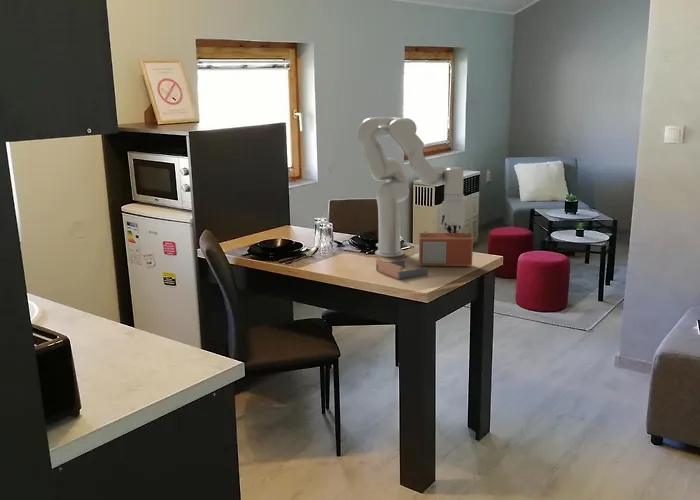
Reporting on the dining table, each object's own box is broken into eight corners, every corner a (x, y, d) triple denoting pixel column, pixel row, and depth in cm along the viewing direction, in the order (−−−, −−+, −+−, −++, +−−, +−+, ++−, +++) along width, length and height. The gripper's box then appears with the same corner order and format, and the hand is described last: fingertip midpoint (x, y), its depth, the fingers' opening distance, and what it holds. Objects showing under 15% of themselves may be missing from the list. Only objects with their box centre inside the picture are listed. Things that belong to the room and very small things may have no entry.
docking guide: (376, 271, 264) (376, 259, 263) (403, 266, 271) (403, 254, 270) (399, 279, 251) (399, 267, 250) (427, 274, 257) (427, 262, 256)
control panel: (470, 261, 273) (472, 229, 267) (472, 269, 267) (473, 236, 261) (418, 261, 275) (419, 229, 269) (419, 269, 269) (419, 236, 262)
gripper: (461, 195, 275) (460, 238, 279) (433, 198, 267) (432, 242, 271) (473, 197, 268) (472, 241, 272) (445, 200, 261) (444, 245, 265)
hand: (452, 241), depth 272 cm, fingers closed
